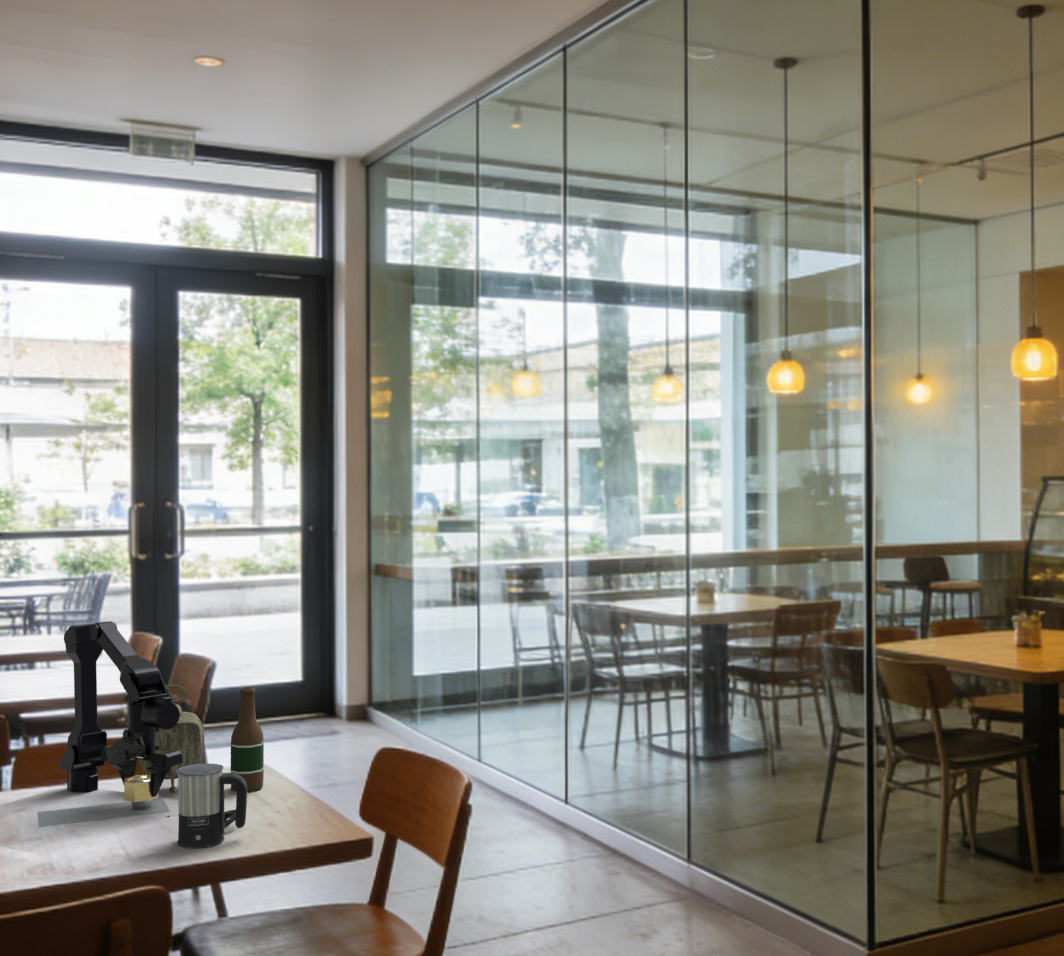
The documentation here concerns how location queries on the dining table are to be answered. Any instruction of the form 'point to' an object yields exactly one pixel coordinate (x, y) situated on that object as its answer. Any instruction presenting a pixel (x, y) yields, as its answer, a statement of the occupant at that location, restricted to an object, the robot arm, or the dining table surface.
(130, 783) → the brass ring
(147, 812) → the fit board
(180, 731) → the tabletop clock
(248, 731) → the beer bottle
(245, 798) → the milk frother
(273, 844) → the dining table surface
